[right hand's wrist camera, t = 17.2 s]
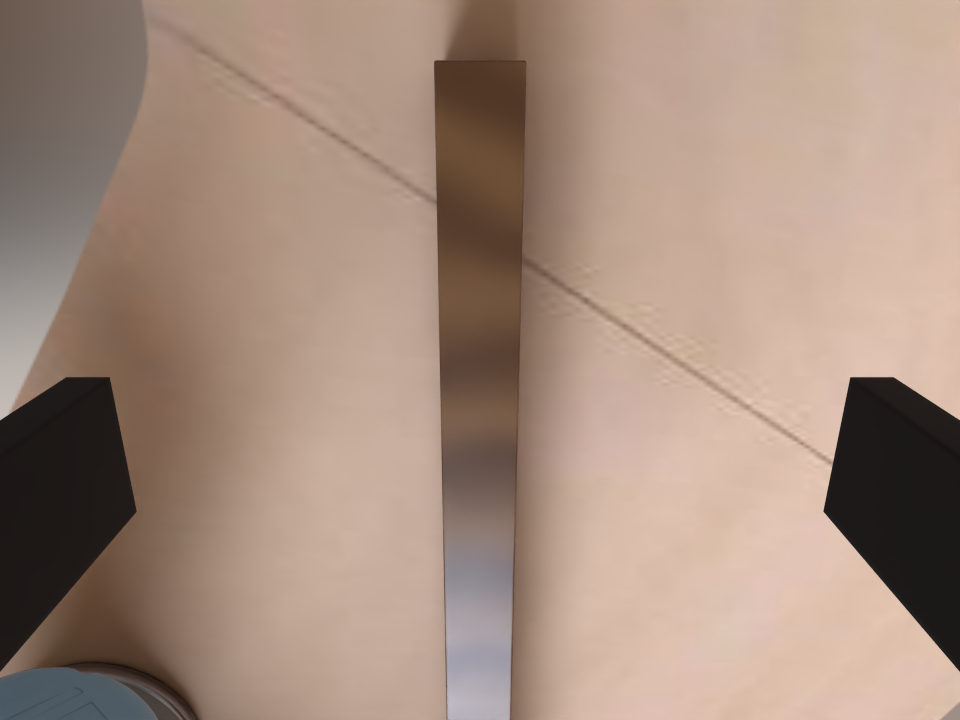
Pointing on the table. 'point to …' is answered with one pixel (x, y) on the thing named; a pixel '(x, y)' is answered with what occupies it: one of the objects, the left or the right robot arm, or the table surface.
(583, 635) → the table surface
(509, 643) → the post
